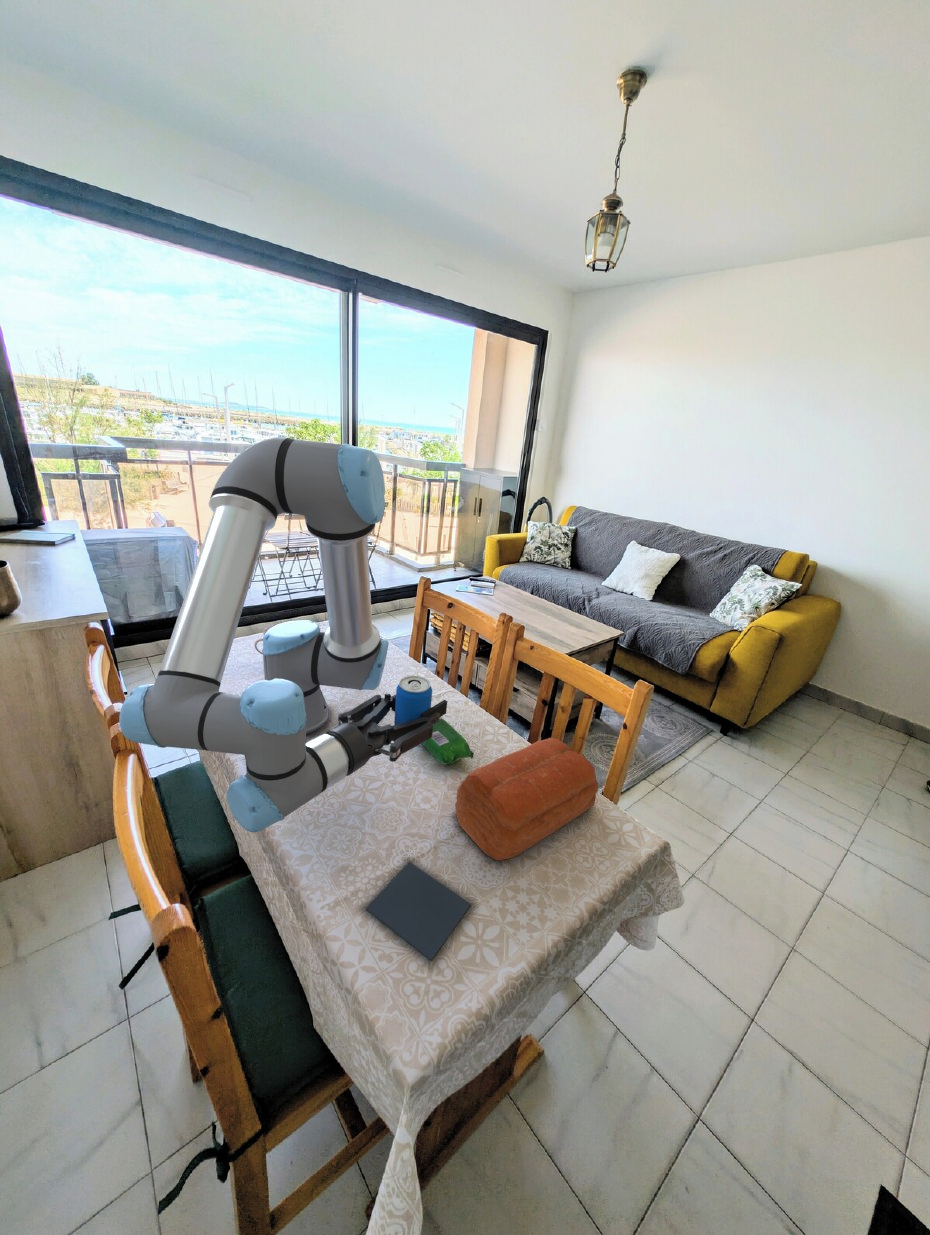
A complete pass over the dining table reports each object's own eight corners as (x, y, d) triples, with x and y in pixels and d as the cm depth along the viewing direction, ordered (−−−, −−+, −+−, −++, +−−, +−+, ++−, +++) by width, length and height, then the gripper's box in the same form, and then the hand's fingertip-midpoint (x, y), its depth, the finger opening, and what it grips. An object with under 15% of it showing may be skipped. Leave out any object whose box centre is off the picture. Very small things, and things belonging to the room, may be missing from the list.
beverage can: (426, 728, 92) (430, 674, 88) (429, 749, 86) (434, 692, 82) (392, 728, 91) (396, 674, 87) (393, 749, 85) (397, 692, 81)
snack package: (446, 777, 97) (449, 756, 95) (409, 735, 108) (411, 716, 106) (474, 766, 101) (477, 746, 99) (435, 727, 112) (437, 708, 110)
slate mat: (365, 909, 69) (365, 907, 68) (409, 863, 77) (409, 861, 76) (431, 961, 63) (431, 959, 63) (470, 905, 71) (471, 903, 71)
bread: (600, 808, 93) (612, 765, 89) (501, 873, 77) (510, 824, 73) (543, 763, 104) (551, 723, 100) (446, 812, 88) (451, 766, 84)
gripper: (296, 747, 79) (393, 696, 97) (378, 805, 69) (469, 737, 87) (295, 709, 76) (395, 664, 94) (380, 764, 66) (473, 702, 84)
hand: (430, 699), depth 90 cm, fingers closed on beverage can, 6 cm apart
